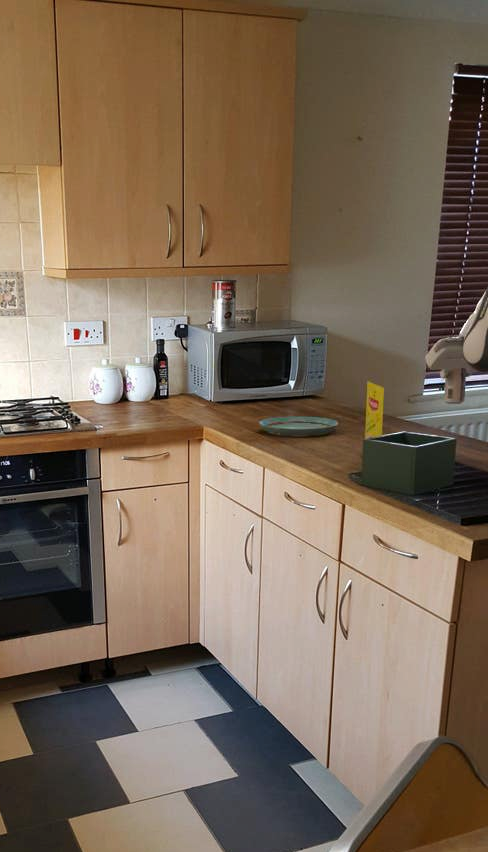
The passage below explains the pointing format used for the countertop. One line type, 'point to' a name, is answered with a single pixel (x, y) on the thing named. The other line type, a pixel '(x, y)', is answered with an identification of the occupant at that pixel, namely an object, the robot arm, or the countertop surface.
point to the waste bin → (408, 462)
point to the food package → (374, 410)
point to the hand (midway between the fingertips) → (454, 375)
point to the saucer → (298, 426)
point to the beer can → (455, 386)
